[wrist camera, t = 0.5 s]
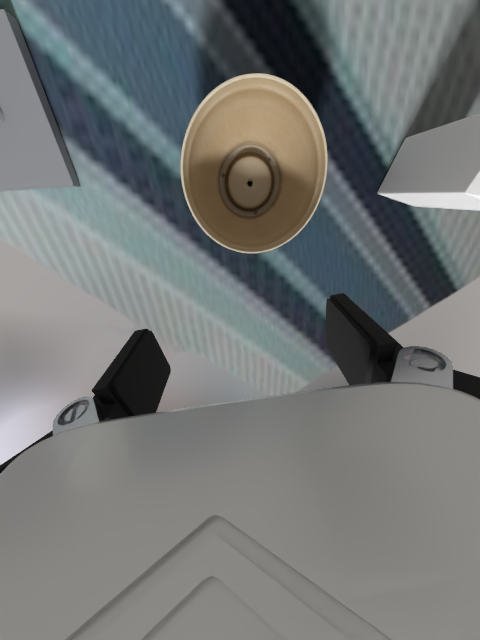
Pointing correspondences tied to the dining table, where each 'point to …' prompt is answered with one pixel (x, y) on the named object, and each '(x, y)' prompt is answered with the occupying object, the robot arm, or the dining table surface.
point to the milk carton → (438, 168)
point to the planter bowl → (254, 163)
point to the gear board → (27, 121)
